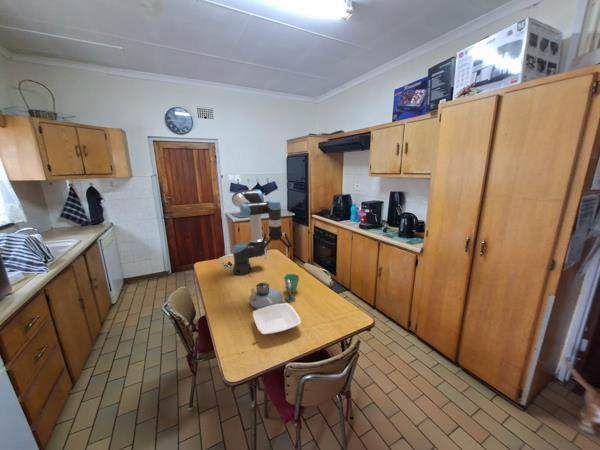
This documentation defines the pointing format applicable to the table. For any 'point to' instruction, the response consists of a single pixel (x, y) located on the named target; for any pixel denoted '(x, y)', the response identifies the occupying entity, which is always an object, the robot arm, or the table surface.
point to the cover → (262, 289)
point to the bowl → (276, 318)
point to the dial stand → (290, 297)
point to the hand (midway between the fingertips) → (276, 257)
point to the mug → (292, 281)
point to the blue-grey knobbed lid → (265, 298)
